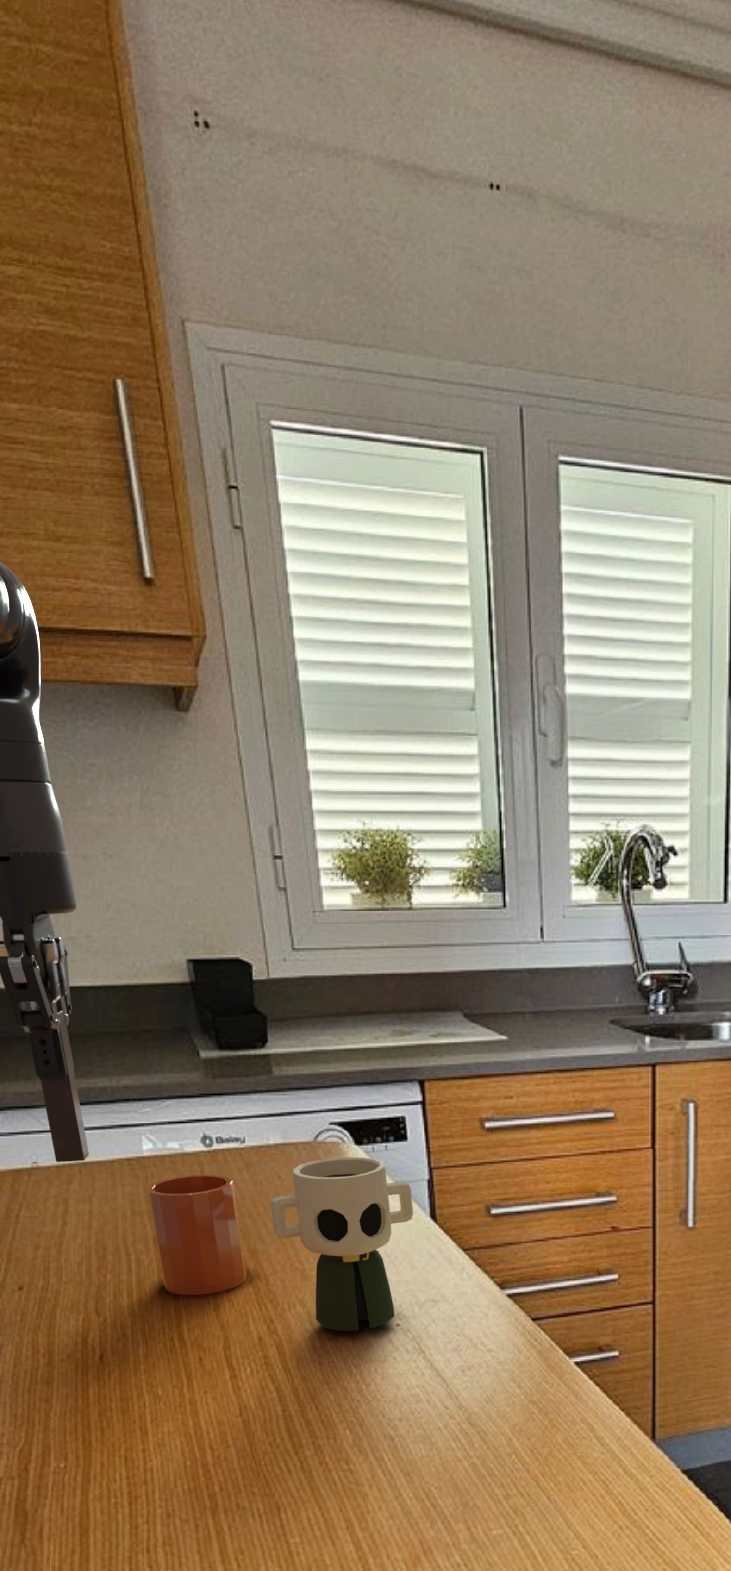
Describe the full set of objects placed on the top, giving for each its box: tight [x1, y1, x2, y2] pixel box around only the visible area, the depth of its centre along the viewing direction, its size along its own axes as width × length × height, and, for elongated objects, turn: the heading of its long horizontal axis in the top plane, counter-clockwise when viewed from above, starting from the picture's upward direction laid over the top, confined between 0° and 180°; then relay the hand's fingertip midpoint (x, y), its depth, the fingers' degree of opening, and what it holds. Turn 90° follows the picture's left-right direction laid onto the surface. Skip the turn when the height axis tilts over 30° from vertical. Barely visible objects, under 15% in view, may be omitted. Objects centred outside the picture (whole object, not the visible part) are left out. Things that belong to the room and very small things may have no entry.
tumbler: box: [146, 1174, 247, 1296], centre depth 106 cm, size 7×7×9 cm
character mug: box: [270, 1156, 414, 1332], centre depth 95 cm, size 11×7×13 cm, turn 115°
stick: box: [39, 1010, 90, 1163], centre depth 99 cm, size 2×2×12 cm
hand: (56, 1074), depth 98 cm, fingers closed on stick, 2 cm apart
